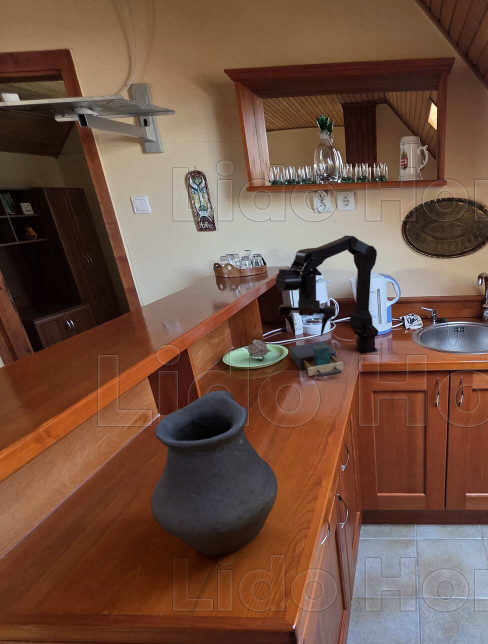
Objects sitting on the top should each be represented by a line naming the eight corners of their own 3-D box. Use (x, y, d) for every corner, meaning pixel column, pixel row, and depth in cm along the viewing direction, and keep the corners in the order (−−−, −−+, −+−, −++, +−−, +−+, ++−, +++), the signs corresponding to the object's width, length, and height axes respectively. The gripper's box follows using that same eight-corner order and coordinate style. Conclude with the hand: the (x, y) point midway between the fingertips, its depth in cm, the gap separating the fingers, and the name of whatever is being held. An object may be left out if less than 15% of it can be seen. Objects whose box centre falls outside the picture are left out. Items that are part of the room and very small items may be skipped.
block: (326, 362, 149) (324, 343, 147) (330, 366, 146) (329, 347, 143) (314, 364, 148) (312, 345, 145) (318, 368, 144) (316, 349, 141)
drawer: (348, 374, 142) (348, 367, 141) (313, 381, 137) (312, 373, 136) (332, 358, 156) (331, 351, 155) (299, 364, 151) (298, 357, 150)
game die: (266, 367, 162) (279, 347, 159) (250, 367, 154) (264, 345, 151) (251, 352, 164) (264, 332, 162) (236, 352, 157) (249, 330, 154)
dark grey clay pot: (143, 583, 67) (96, 451, 57) (193, 495, 87) (164, 385, 77) (273, 575, 68) (249, 443, 58) (292, 489, 88) (277, 380, 77)
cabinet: (336, 363, 154) (335, 351, 152) (300, 369, 149) (299, 358, 147) (325, 351, 165) (324, 341, 164) (291, 357, 160) (289, 346, 158)
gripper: (275, 292, 131) (277, 340, 136) (335, 294, 133) (335, 342, 138) (280, 287, 141) (281, 332, 147) (335, 289, 143) (335, 334, 149)
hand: (308, 335), depth 145 cm, fingers open, 9 cm apart
